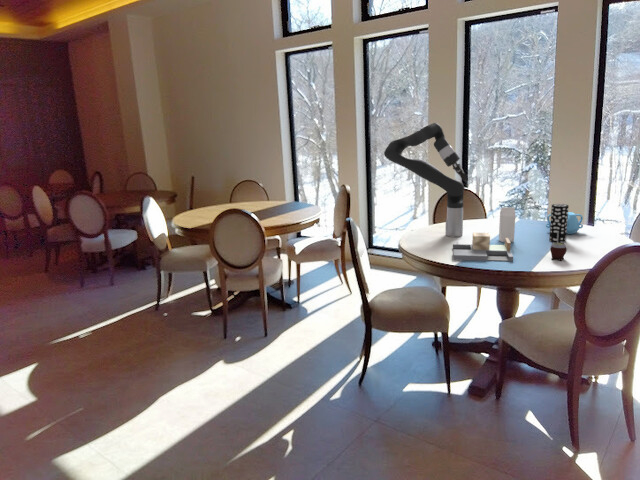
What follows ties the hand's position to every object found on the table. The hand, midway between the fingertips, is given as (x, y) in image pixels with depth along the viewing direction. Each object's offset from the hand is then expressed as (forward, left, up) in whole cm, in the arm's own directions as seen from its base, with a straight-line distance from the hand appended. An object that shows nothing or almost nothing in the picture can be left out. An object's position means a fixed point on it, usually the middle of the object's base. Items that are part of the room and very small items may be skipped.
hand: (466, 180), depth 264 cm
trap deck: (+13, -12, -36) cm, 40 cm away
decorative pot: (+42, +55, -37) cm, 78 cm away
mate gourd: (+48, -5, -37) cm, 60 cm away
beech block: (+11, -7, -34) cm, 36 cm away
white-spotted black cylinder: (+42, +33, -37) cm, 65 cm away
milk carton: (+16, +23, -37) cm, 46 cm away
